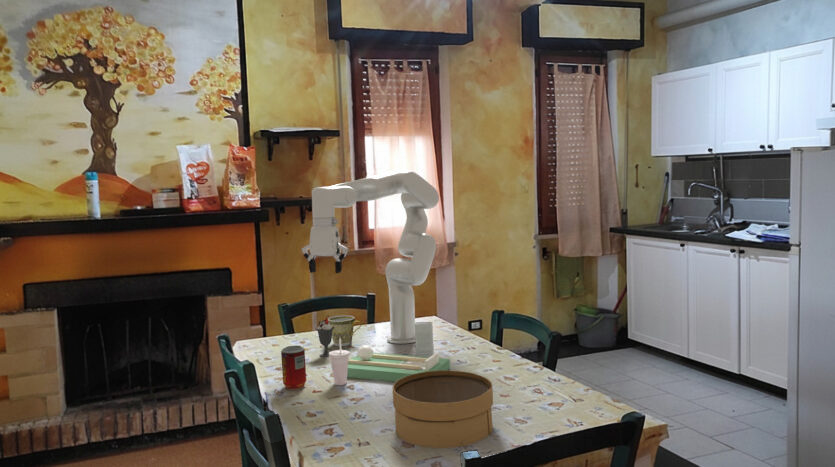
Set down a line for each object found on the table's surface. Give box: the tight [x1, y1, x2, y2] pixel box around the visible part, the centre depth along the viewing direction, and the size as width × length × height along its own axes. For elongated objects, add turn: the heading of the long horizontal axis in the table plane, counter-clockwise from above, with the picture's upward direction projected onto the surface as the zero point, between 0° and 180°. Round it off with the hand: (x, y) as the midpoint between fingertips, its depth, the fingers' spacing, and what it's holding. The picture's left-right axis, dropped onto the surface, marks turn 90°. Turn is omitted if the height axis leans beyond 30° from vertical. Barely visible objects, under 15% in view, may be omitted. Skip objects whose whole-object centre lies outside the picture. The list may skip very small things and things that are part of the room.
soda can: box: [280, 345, 307, 391], centre depth 196 cm, size 7×7×12 cm
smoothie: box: [328, 339, 351, 386], centre depth 197 cm, size 6×6×14 cm
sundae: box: [315, 314, 335, 358], centre depth 229 cm, size 7×7×15 cm
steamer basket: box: [392, 370, 494, 449], centre depth 159 cm, size 25×25×11 cm
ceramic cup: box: [327, 315, 362, 347], centre depth 245 cm, size 13×10×10 cm
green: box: [347, 352, 451, 383], centre depth 207 cm, size 18×32×6 cm, turn 67°
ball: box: [357, 344, 374, 361], centre depth 211 cm, size 5×5×5 cm
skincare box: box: [414, 321, 435, 357], centre depth 223 cm, size 6×4×12 cm
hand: (325, 272), depth 222 cm, fingers open, 9 cm apart
